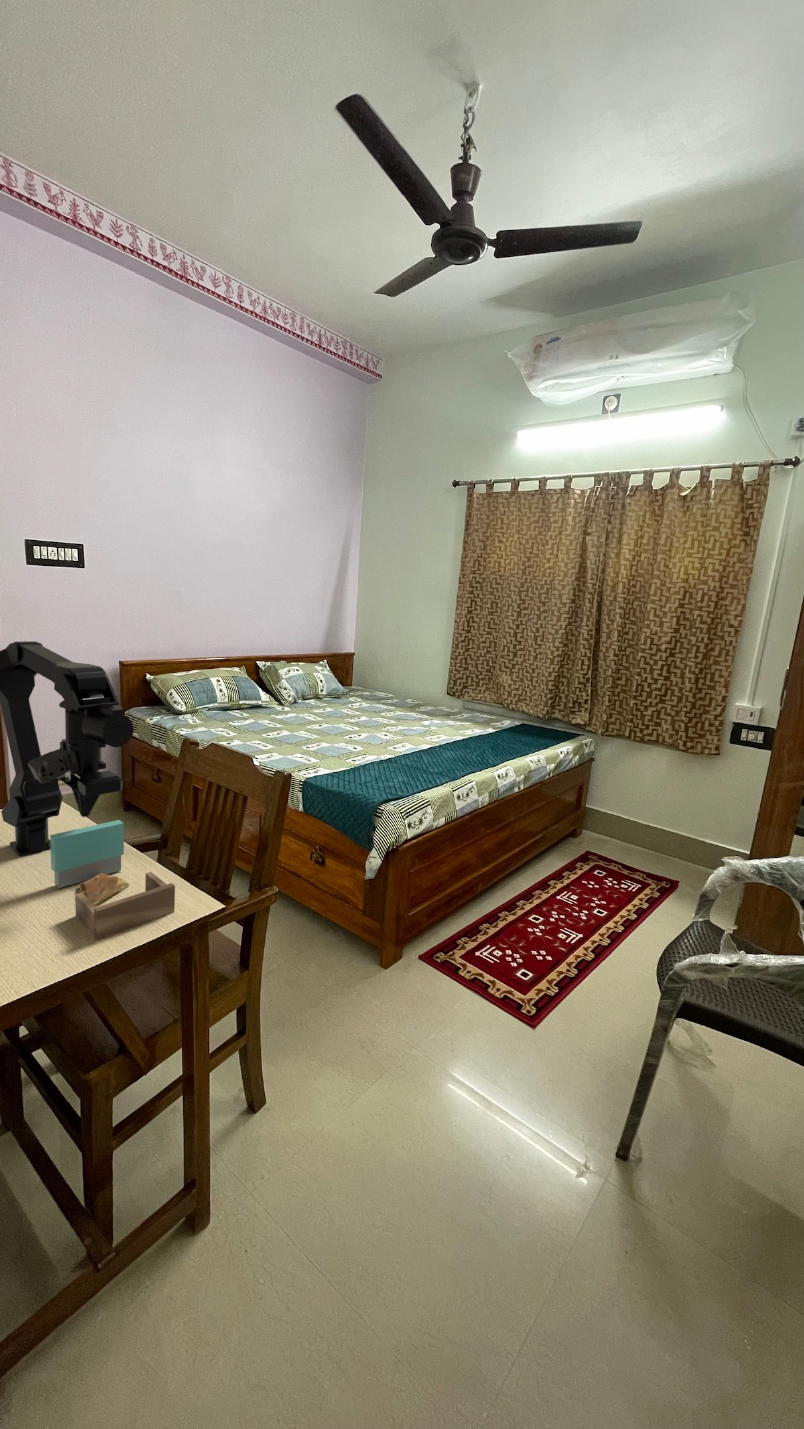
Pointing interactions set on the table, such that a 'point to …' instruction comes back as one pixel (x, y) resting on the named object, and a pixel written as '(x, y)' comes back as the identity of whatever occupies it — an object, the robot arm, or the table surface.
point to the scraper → (87, 852)
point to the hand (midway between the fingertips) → (84, 816)
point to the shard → (102, 887)
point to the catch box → (127, 908)
